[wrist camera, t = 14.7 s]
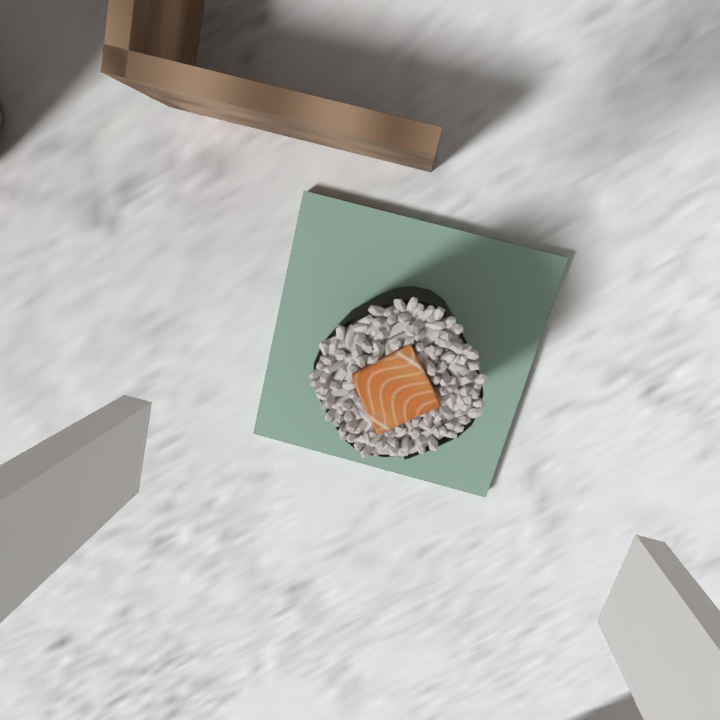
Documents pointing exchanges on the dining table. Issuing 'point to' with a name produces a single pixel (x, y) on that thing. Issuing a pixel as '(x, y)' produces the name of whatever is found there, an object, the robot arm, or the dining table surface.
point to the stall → (245, 88)
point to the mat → (393, 270)
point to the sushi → (399, 375)
